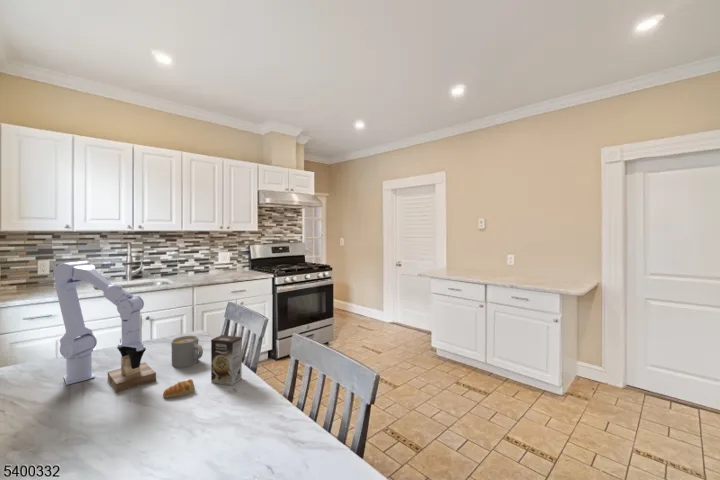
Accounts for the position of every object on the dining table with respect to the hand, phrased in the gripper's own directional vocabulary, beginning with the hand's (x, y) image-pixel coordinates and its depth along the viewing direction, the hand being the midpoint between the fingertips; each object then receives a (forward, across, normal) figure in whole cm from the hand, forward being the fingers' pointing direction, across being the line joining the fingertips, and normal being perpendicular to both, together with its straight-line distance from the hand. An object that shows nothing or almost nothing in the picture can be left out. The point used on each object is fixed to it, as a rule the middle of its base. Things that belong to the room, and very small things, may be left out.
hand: (131, 365), depth 120 cm
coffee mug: (+6, +2, +20) cm, 21 cm away
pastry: (+6, +25, +5) cm, 26 cm away
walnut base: (+5, 0, 0) cm, 5 cm away
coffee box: (+6, +30, +20) cm, 36 cm away
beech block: (+2, 0, 0) cm, 2 cm away
